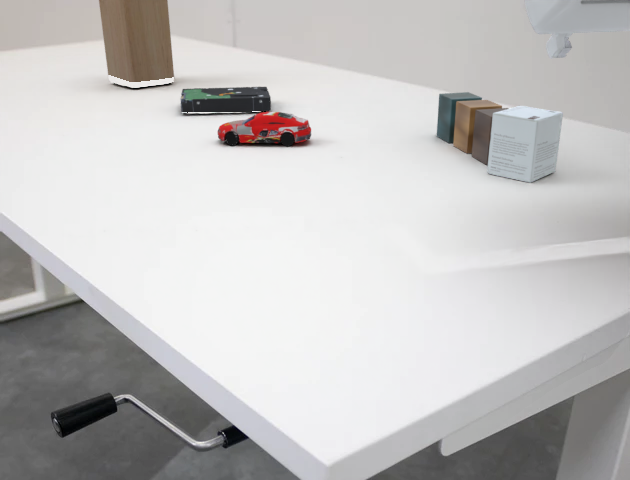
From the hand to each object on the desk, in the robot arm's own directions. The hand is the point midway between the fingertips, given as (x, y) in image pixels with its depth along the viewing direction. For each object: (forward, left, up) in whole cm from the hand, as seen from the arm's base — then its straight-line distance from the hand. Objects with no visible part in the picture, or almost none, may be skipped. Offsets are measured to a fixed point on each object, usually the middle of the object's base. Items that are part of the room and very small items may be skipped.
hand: (597, 50), depth 74 cm
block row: (+19, -16, -16) cm, 29 cm away
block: (+97, -27, -16) cm, 102 cm away
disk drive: (+66, -18, -16) cm, 70 cm away
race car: (+45, -3, -16) cm, 48 cm away
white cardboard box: (+9, -8, -16) cm, 20 cm away
